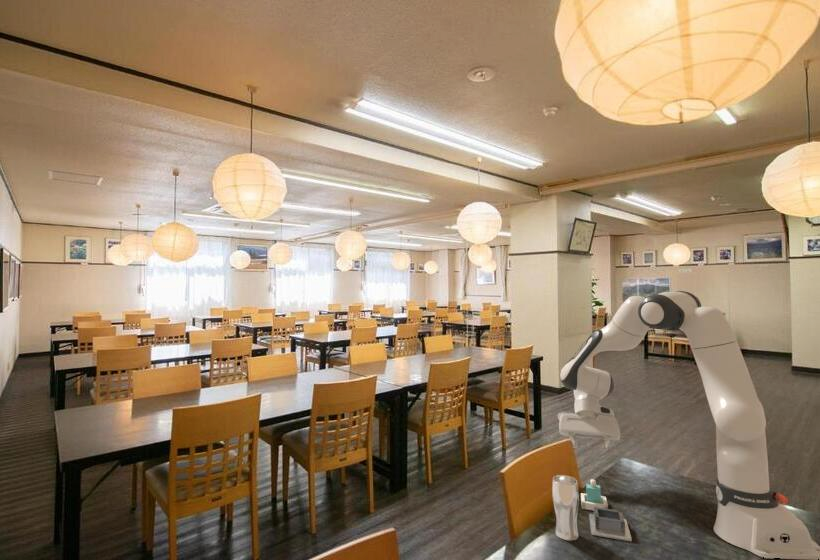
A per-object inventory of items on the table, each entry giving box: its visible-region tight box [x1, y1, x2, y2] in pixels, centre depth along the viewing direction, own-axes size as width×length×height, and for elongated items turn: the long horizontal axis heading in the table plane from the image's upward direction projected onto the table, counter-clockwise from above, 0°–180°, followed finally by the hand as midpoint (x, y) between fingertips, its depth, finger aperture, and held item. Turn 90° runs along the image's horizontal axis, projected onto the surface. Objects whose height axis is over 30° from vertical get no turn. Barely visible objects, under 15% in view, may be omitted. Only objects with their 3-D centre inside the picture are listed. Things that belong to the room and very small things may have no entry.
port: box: [588, 507, 632, 543], centre depth 117 cm, size 10×10×4 cm
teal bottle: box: [585, 478, 602, 504], centre depth 130 cm, size 4×3×8 cm
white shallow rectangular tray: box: [580, 492, 609, 512], centre depth 130 cm, size 8×6×2 cm
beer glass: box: [551, 474, 580, 542], centre depth 115 cm, size 7×7×15 cm
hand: (590, 448), depth 142 cm, fingers open, 8 cm apart
